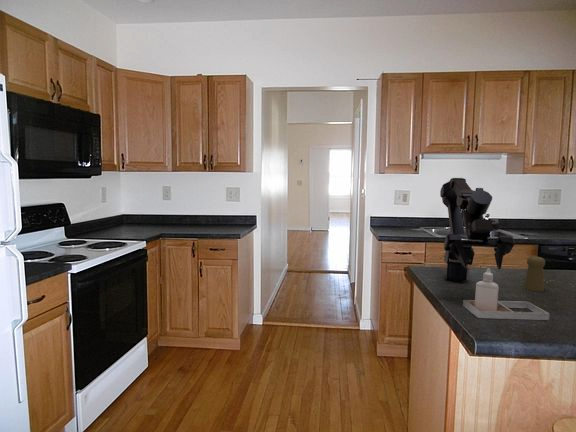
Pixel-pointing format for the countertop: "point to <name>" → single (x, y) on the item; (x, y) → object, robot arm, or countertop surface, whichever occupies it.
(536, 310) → the tray
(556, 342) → the countertop surface
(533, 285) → the cork
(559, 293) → the countertop surface
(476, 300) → the eye dropper bottle
